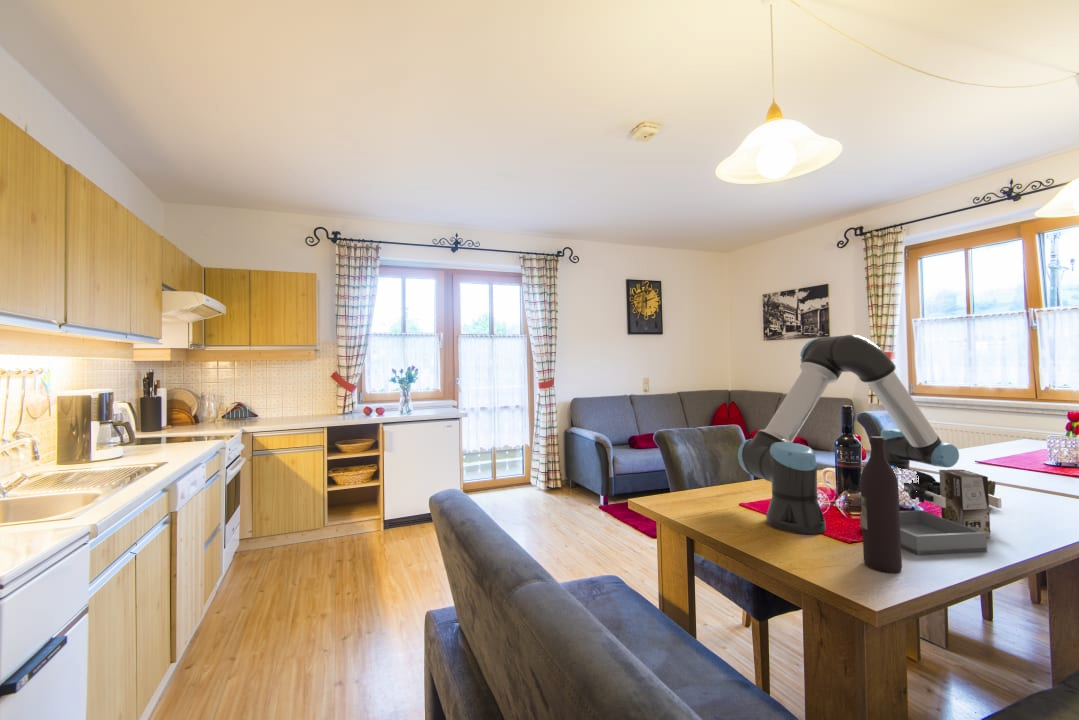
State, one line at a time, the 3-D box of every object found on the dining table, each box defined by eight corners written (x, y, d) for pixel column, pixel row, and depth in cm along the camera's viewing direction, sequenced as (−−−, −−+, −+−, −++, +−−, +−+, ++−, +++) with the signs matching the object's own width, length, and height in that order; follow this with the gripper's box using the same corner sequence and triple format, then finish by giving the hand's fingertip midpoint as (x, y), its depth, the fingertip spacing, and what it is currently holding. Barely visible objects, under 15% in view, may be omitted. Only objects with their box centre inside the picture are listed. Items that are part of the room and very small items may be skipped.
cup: (970, 507, 143) (969, 482, 143) (960, 500, 150) (959, 476, 150) (1001, 509, 140) (1000, 484, 140) (990, 503, 146) (989, 478, 147)
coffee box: (992, 538, 118) (989, 476, 119) (963, 536, 120) (961, 476, 120) (966, 525, 127) (964, 469, 128) (940, 524, 129) (938, 468, 129)
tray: (917, 555, 109) (916, 536, 109) (860, 528, 127) (860, 512, 127) (987, 551, 110) (986, 533, 110) (921, 526, 128) (920, 510, 128)
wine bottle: (882, 559, 108) (877, 434, 108) (910, 572, 101) (904, 438, 101) (856, 561, 107) (850, 435, 107) (882, 575, 100) (876, 440, 100)
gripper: (959, 494, 141) (1024, 517, 120) (874, 494, 144) (922, 516, 123) (958, 471, 141) (1022, 489, 120) (873, 471, 144) (920, 488, 123)
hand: (971, 503), depth 121 cm, fingers open, 13 cm apart
